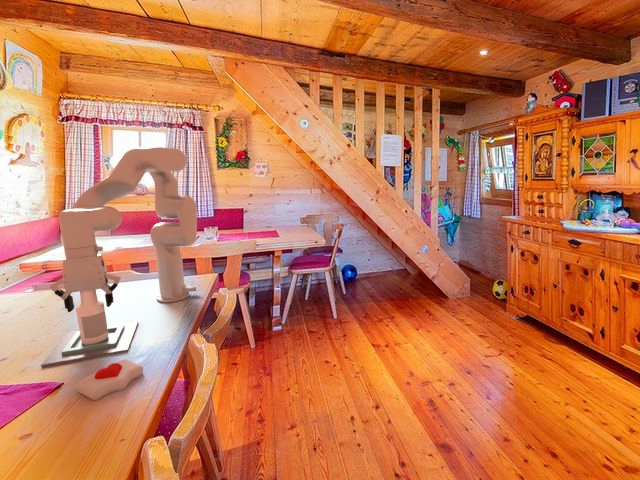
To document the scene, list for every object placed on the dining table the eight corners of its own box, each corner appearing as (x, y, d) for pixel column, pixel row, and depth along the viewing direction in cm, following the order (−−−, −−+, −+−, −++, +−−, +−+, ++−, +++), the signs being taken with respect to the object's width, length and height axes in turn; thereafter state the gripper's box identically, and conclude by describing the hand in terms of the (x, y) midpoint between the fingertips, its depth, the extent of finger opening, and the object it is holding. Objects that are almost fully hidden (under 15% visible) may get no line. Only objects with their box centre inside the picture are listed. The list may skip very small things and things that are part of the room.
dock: (138, 323, 110) (137, 318, 110) (127, 351, 92) (126, 346, 91) (68, 334, 103) (67, 328, 103) (41, 367, 85) (40, 361, 84)
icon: (95, 389, 69) (71, 376, 74) (98, 406, 70) (74, 392, 75) (148, 361, 80) (124, 351, 85) (150, 376, 81) (126, 366, 85)
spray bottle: (95, 346, 93) (86, 287, 90) (75, 344, 95) (65, 286, 91) (114, 335, 100) (106, 280, 97) (95, 333, 101) (86, 279, 98)
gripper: (118, 246, 98) (126, 299, 102) (49, 252, 92) (60, 307, 95) (113, 251, 91) (121, 307, 95) (38, 258, 85) (49, 317, 89)
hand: (90, 307), depth 95 cm, fingers open, 9 cm apart
